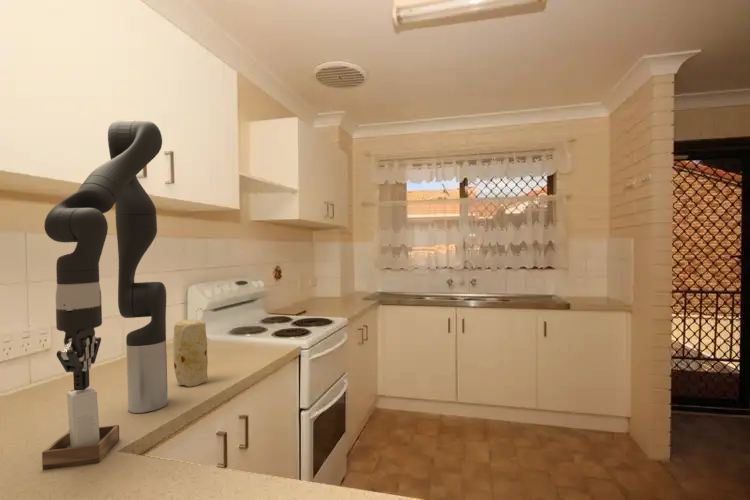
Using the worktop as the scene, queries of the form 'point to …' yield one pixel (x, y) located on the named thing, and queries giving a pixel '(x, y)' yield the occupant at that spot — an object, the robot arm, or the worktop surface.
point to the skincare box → (83, 417)
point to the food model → (190, 352)
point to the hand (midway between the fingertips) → (81, 388)
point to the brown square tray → (79, 450)
